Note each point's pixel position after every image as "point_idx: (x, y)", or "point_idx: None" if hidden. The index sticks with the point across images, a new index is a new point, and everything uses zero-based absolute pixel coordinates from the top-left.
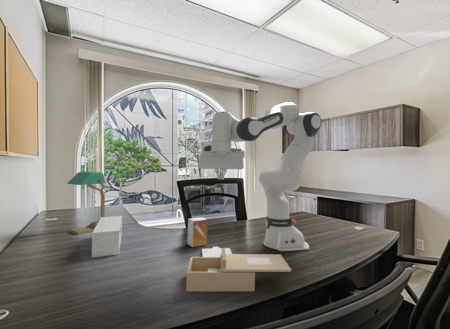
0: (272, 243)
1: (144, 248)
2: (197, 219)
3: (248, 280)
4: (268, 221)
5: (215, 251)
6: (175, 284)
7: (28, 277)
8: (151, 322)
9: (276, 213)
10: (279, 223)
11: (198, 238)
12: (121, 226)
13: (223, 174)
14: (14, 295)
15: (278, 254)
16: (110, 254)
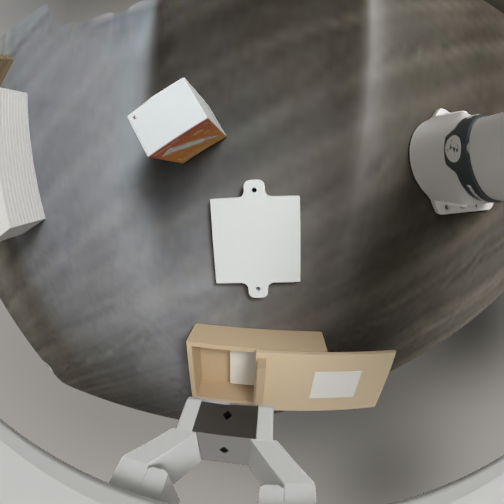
0: (430, 188)
1: (72, 178)
2: (162, 127)
3: None
4: (461, 167)
5: (251, 224)
6: (177, 357)
7: (10, 298)
8: (175, 417)
9: (499, 195)
10: (482, 199)
11: (192, 150)
12: (9, 114)
13: (258, 476)
14: (29, 338)
15: (391, 353)
16: (36, 224)
